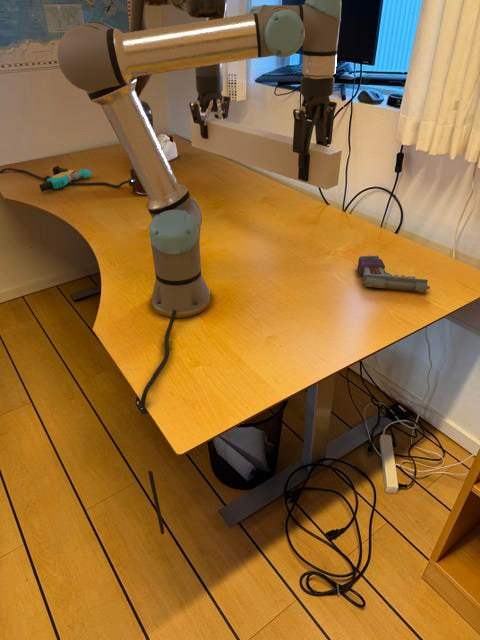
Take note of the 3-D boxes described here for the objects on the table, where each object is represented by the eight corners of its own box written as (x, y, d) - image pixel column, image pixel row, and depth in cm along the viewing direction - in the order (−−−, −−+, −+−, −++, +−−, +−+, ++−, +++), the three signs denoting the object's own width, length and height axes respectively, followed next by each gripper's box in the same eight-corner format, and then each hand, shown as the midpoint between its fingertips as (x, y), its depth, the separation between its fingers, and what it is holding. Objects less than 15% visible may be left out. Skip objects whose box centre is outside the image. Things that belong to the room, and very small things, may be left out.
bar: (337, 185, 119) (341, 150, 114) (326, 189, 116) (329, 154, 111) (203, 143, 149) (201, 114, 144) (191, 146, 147) (189, 117, 142)
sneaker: (133, 173, 208) (129, 144, 201) (161, 153, 230) (158, 127, 223) (155, 175, 205) (151, 146, 198) (180, 155, 227) (178, 129, 220)
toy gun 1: (18, 179, 190) (45, 185, 184) (65, 161, 208) (91, 166, 203) (21, 190, 192) (48, 196, 187) (67, 171, 211) (93, 177, 205)
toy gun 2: (422, 269, 137) (428, 298, 126) (357, 263, 141) (356, 291, 129) (425, 258, 135) (432, 285, 123) (358, 252, 138) (358, 278, 126)
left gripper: (219, 68, 138) (221, 129, 148) (180, 74, 130) (185, 138, 140) (237, 71, 133) (237, 134, 143) (197, 77, 125) (201, 144, 136)
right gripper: (329, 69, 115) (320, 165, 128) (279, 78, 105) (275, 182, 118) (354, 72, 110) (343, 172, 124) (305, 83, 100) (298, 190, 114)
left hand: (211, 136), depth 142 cm, fingers closed on bar, 4 cm apart
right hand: (310, 177), depth 121 cm, fingers closed on bar, 5 cm apart
